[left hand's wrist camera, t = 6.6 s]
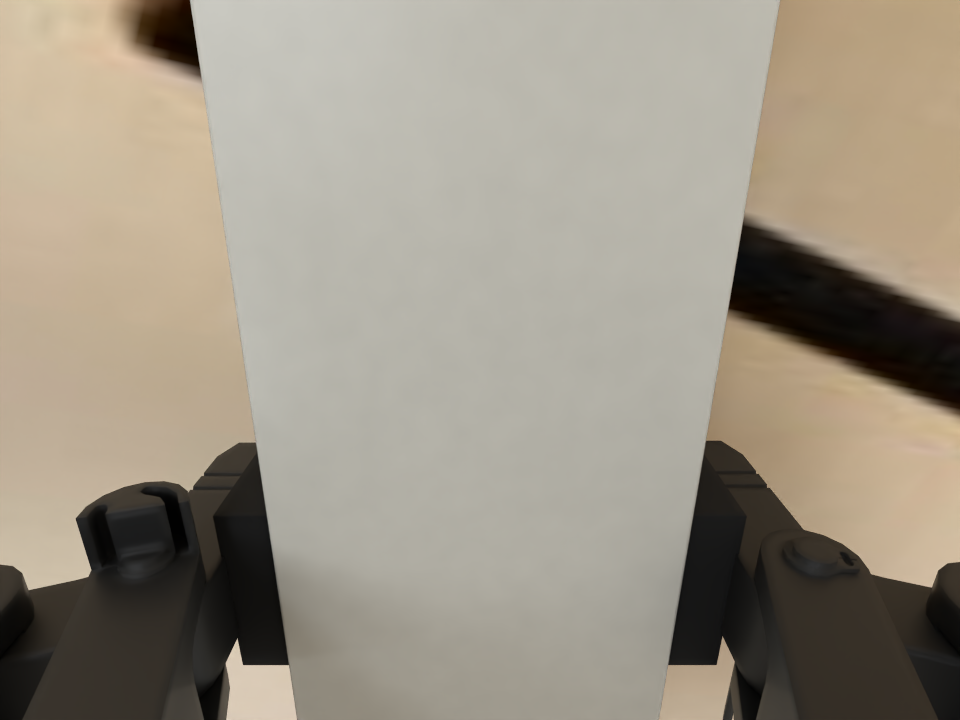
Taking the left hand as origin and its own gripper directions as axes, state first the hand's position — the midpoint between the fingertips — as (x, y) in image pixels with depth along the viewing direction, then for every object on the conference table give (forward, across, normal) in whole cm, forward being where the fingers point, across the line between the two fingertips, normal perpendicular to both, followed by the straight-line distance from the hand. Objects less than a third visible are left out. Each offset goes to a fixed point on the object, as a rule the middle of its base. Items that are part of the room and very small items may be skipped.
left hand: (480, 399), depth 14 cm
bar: (+1, 0, -23) cm, 23 cm away
